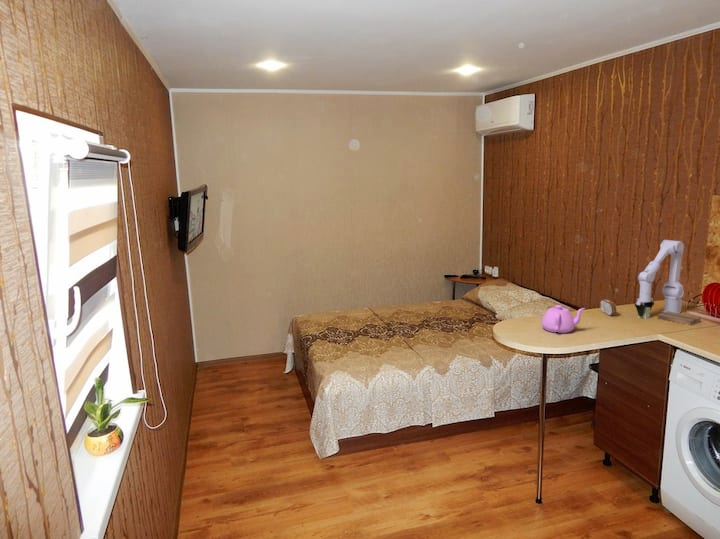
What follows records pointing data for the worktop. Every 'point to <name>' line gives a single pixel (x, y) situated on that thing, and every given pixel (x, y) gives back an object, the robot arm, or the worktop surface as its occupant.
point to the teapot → (560, 319)
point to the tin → (608, 307)
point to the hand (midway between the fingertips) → (643, 315)
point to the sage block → (646, 313)
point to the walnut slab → (679, 318)
